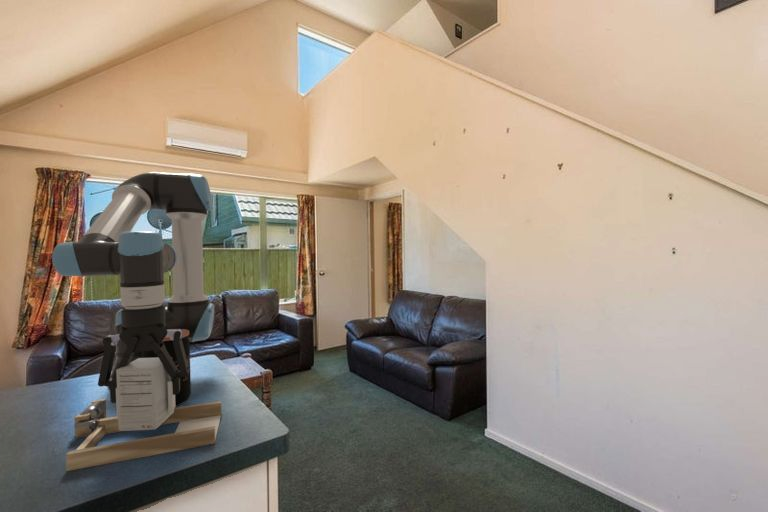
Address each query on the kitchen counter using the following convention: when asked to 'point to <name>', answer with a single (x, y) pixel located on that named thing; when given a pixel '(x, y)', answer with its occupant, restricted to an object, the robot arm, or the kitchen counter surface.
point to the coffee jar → (185, 380)
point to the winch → (90, 418)
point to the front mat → (199, 424)
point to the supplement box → (142, 395)
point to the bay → (144, 439)
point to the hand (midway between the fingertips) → (147, 412)
